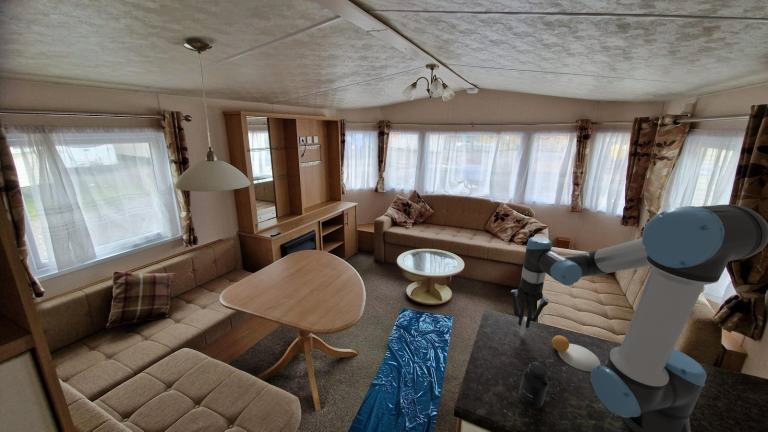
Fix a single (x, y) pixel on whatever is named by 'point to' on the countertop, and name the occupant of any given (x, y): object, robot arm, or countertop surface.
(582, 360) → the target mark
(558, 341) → the ball
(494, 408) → the countertop surface
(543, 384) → the supplement bottle
